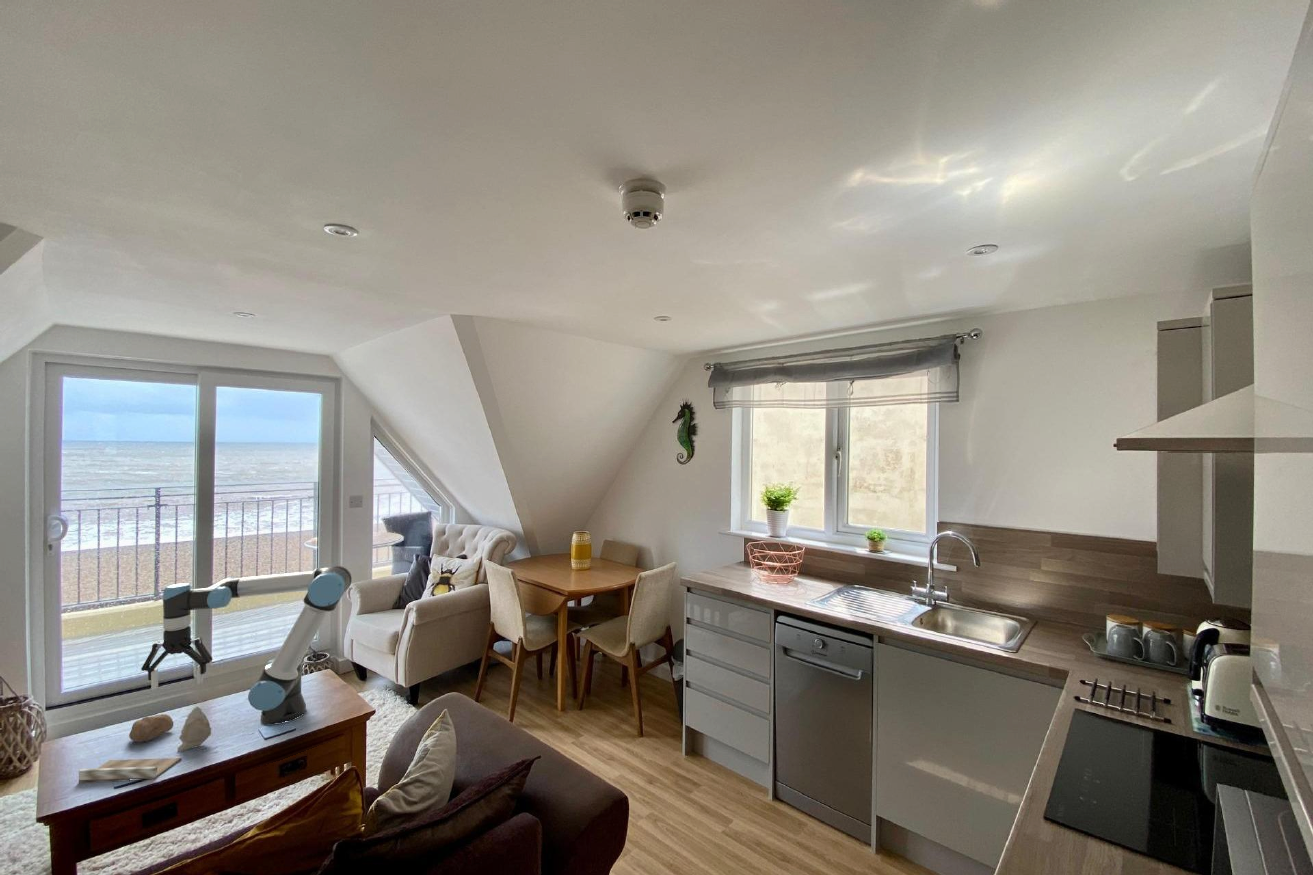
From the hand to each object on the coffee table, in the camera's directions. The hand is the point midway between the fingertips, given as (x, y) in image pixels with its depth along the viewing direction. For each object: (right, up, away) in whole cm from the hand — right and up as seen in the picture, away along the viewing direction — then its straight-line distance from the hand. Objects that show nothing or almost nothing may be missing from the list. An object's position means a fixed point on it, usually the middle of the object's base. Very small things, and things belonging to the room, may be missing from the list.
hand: (177, 685), depth 198 cm
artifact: (+8, -22, -2) cm, 24 cm away
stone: (-18, -22, +5) cm, 29 cm away
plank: (-1, -22, -16) cm, 27 cm away
